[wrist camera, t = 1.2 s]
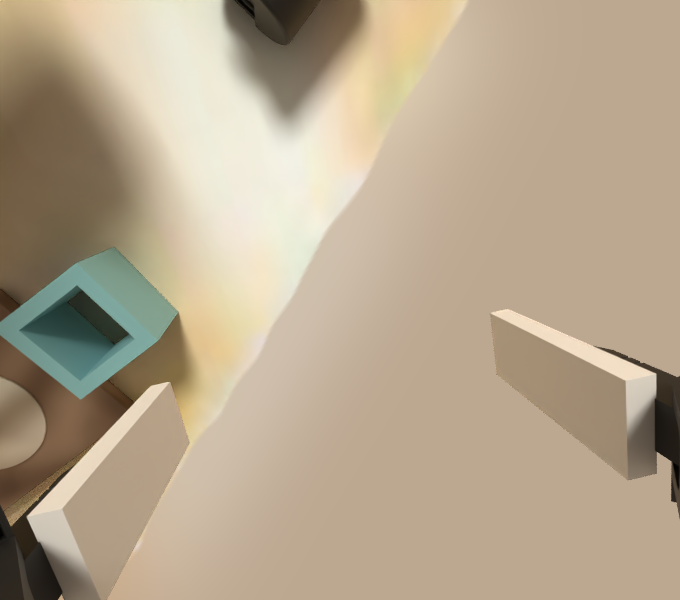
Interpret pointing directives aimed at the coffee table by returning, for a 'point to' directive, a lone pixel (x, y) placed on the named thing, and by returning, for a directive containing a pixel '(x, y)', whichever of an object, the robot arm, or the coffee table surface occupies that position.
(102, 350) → the teal ring
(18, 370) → the post stand
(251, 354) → the coffee table surface
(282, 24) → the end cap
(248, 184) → the coffee table surface
